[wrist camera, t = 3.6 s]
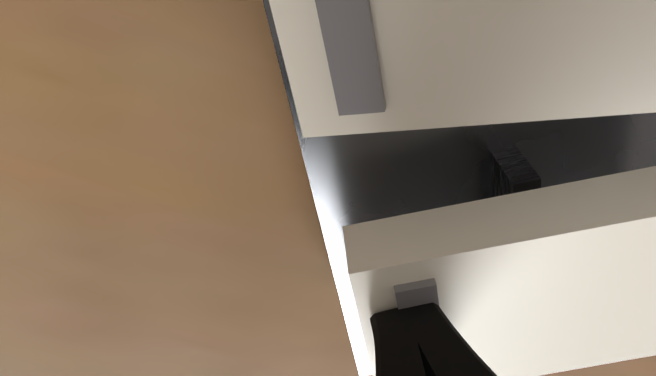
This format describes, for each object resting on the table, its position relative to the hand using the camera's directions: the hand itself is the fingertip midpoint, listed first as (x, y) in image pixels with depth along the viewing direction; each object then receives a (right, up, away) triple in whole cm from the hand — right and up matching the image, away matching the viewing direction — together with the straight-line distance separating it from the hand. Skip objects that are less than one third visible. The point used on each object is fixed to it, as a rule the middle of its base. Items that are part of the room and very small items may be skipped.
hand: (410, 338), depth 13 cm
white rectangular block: (+3, +2, +1) cm, 4 cm away
